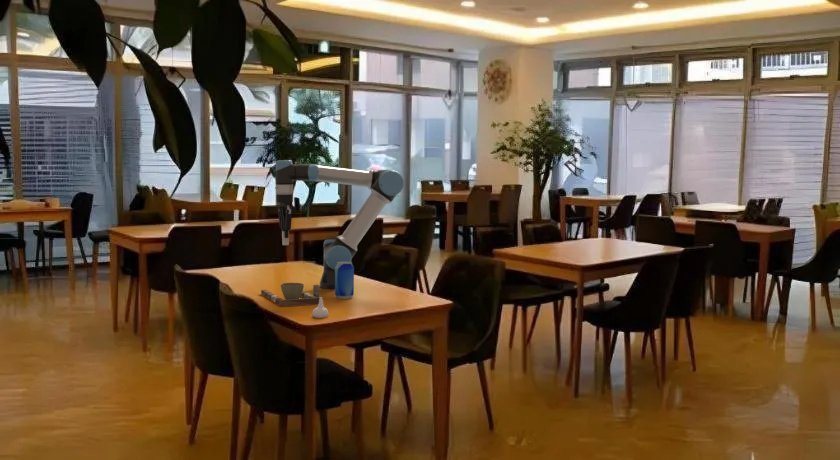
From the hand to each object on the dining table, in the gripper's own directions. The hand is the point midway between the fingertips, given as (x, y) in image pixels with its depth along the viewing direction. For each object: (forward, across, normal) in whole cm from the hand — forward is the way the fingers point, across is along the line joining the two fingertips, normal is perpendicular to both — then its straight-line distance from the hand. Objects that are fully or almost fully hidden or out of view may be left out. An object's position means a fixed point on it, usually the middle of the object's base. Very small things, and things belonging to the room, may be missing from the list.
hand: (285, 244), depth 362 cm
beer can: (+23, +24, +18) cm, 38 cm away
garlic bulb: (+23, +58, -9) cm, 62 cm away
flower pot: (+22, +20, -6) cm, 31 cm away
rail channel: (+22, +17, -3) cm, 28 cm away
